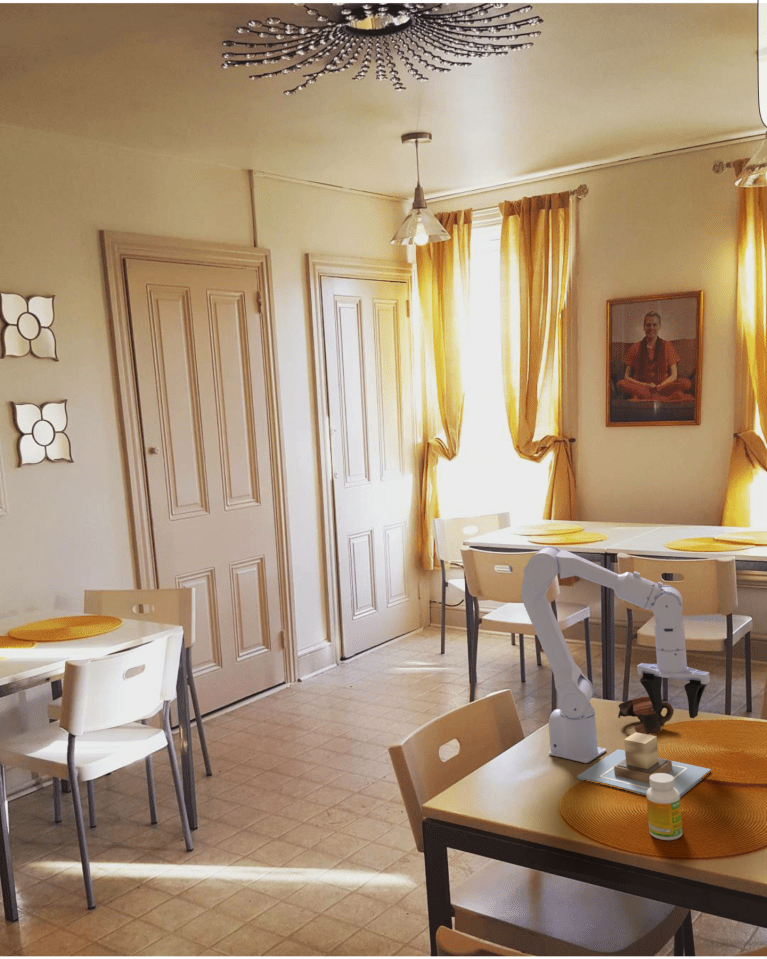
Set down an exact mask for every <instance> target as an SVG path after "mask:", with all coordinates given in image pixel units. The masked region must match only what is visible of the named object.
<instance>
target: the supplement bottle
mask: <svg viewBox="0 0 767 959" xmlns="http://www.w3.org/2000/svg"><path fill="white" fill-rule="evenodd" d="M649 781H650V786H651V787H650V788H649V789H648V790H647V793H646V794H647V796H646V804H647V805H646V807H647V818H648V819H647V822H648V830H649V834H650V835H651V836H652V837H654V838H655V839H657V840H658V839H659V840H663V841H674V840H677V839H679V838H680V837H682V835H683V820H682V810H681V809H682V808H681V806H682V805H681V797H680V794H679V792H678V790H677V789H676V788H674V787H675V784H674V777H673V776H672V775H670V774H666V773H655V774H652V775H651V776H650V777H649Z"/></svg>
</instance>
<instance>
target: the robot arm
mask: <svg viewBox="0 0 767 959" xmlns="http://www.w3.org/2000/svg"><path fill="white" fill-rule="evenodd" d="M558 575H559V579H567V578H571V577H579V578H582V579H584V580H587V581H590V582H593V583H596V584H598V585H601V586H604V587H606V588H609V589H612V590H613V592H614V593H615V595H616V597H617V599H620V600H623V601H625V602H627V603H630V604H632V605H634V606H637V607H639V608H641V609H644V610H647V611H648V610H649V611H651V612H652V614H653V616H654V622H655V624H654V628H653V629H654V640H655V656H656V663H643V662H640V663H639V664H637V666H636V667H637V669H636V670H637V675H638V676H639V675H640V676H642V677H641V678H640V679H639V681H640V683H641V685H642V687H643V688H644V690H645V691H646V693H647V695H648V697H649V698H650V700H651V703H652V706H653V709H654V711H655V712H658V711H659V710H661V709H662V702H663V700H662V680H663V678H664V679H665V678H666V679H674V680H680V681H686V682H687V681H689V682H688V683H686V684H685V685H683V686H684V690H685V694H686V698H687V703H688V715H689V718H691V719H695V718H697V717H698V715H699V714H698V713H699V707H700V702H701V700H702V696H703V694H704V691H705V689H706V687H707V685H708V684H709V683H710V682H711V678H710V672H709V671H704V670H700V669H696V668H692V667H688V663H687V662H688V661H687V648H686V636H685V635H686V633H685V632H686V631H685V625H684V616H683V610H684V606H683V603H684V602H683V601H684V600H683V596H682V594H681V592H680V591H679V590H678V589H677V588H676V587H674V586H673V585H670V584H664V583H663V582H660V581H658V582H654V581H652V580H649V579H648V578H645V577H642V576H641V573H640V572H638V571H633V573H632V572H629V571H626V572H623V573H620V574H619V573H617V572H614V571H612V570H611V569H608V568H605V567H603V566H601V565H599V564H597V563H594V562H593V561H590V560H588V559H586V558H585V557H584V558H583V557H582V556H579V555H578V554H574V553H572V552H571V551H569V550H565V549H559V548H558V547H556V546H553V545H545V546H543V547H541V548H539V550H538V551H536V553H535V554H534V555H532V556H530V558H529V560H528V562H527V564H526V565H525V567H524V569H523V578H522V584H521V590H520V599H521V601H522V603H523V605H524V606H523V607H524V608H525V611H526V612H527V614H528V618H529V620H530V622H531V624H532V626H533V629H534V631H535V633H536V636H537V639H538V640H539V642H540V645H541V648H542V650H543V652H544V655H545V657H546V660H547V662H548V664H549V667H550V669H551V671H552V674H553V679H554V687H555V690H556V693H557V706H558V708H556V709H553V711H552V712H551V714H550V715H549V719H548V734H549V745H550V747H549V748H550V750H549V751H548V755H550V756H554V757H558V758H562V759H566V760H570V761H576V762H579V763H582V764H583V763H584V764H589V763H590V762H592V761H593V760H595V759H597V758H598V757H600V756H601V755H602V754H604V753H605V752H607V748H604V747H600V746H599V745H598V736H597V723H596V712H595V711H596V710H595V708H594V707H593V706H592V704H591V700H592V699H593V697H594V693H595V691H594V686H593V684H592V682H591V681H590V680H589V678H587V677H586V676H585V675H584V673H583V672H582V669H581V668H580V667H579V665H577V663H576V661H575V660H574V657H573V655H572V652H571V651H570V648H569V645H568V643H567V641H566V639H565V637H564V634H563V631H562V629H561V627H560V624H559V623H558V620H557V618H556V616H555V613H554V610H553V608H552V606H551V604H550V601H549V600H548V599H549V598H548V597H547V593H548V591H549V589H550V587H551V584H552V583H553V581H554V579H555V578H556V577H557V576H558ZM662 710H663V709H662Z"/></svg>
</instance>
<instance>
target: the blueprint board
mask: <svg viewBox="0 0 767 959" xmlns="http://www.w3.org/2000/svg"><path fill="white" fill-rule="evenodd" d="M658 760H659V761H658V762H657V763H656V764H654V765H653V766H651V767H650V768H649V769H644V768H640V767H635V766H631V765H627V764H626V756H625V749H619V748H617V749H616V750H615V751H613V752H611V753H610V754H608V755H607V756H605V757H603V758H602V759H600V760H599V761H598V762H596V763H595V764H593V765H592V766H590V767H588V768H586V769H585V770H584V771H582V772H581V773H580V774H577V776H576V777H577V780H580V781H584V780H590V781H594V782H599V783H605V784H608V785H612V786H616V787H620V788H623V789H626V790H629V791H633V792H636V793H640V794H643V795H647V794H646V793H647V790H648V789H649V788H650V787H651V786H650V781H649V777H650V776H651V775H652V774H655V773H666V774H670V775H672V776H673V777H674V784H675V787H674V788H676V789H677V790H678V792H679V794H680V798H682V797H683V796H684V795H685V794H687V792H689V791H690V790H692V788H694V787H695V786H696V785H697V784H698V783H700V782H701V781H702V780H703V779H702V777H703V776H704V775H706V774H707V773H708V772H710V771H711V772H712V769H711V768H707V767H702V766H698V765H694V764H689V763H685V762H684V763H683V762H681V761H680V762H679V761H673V760H671V759H665V758H661V757H658ZM643 795H642V796H643Z"/></svg>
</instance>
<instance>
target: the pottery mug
mask: <svg viewBox="0 0 767 959" xmlns="http://www.w3.org/2000/svg"><path fill="white" fill-rule="evenodd" d="M618 708H619V711H618V713H617V714H618V716H617V718H618V719H620V718H621V717H624V718H625V717H635V718H636V717H637V719H638V721H640V722H641V724H638V725H636V726H634V730H635V732H637V733H642V734H647V735H653V733H655V734H659V733H658V732H660V731H661V732H662V727H664V726H665V724H666V723H667V722H668V721H670V720H671V719H672V717H673V715H674V711H675V709H674V708H673V707H672V705H671V703H669V702H668V701H662V709H661V710H659V711H658V712H655V711H654V709H653V706H652V703H651V700H650V698H649V696H639V697H636V698H632V699H628V700H626V701H624V702H621V703H619V704H618ZM664 709H666V713H665V715H664V716H663V714H662V713H663V710H664Z"/></svg>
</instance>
